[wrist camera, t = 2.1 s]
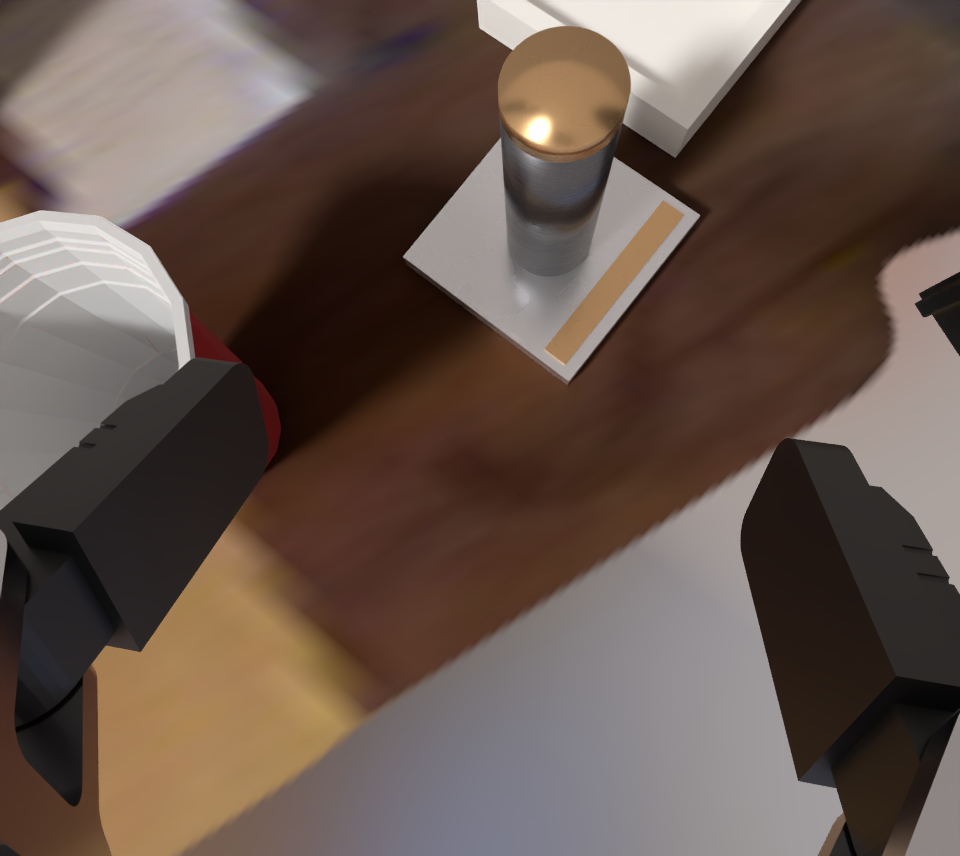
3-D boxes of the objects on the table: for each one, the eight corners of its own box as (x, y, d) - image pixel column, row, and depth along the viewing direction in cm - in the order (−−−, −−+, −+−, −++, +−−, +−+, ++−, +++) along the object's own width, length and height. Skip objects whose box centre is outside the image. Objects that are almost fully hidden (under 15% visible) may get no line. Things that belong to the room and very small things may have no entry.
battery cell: (490, 244, 28) (471, 100, 18) (541, 181, 28) (552, 2, 18) (557, 293, 27) (576, 171, 17) (609, 228, 27) (657, 71, 17)
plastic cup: (226, 279, 29) (25, 128, 18) (375, 420, 28) (266, 360, 16) (75, 435, 29) (-236, 389, 17) (219, 587, 27) (-14, 653, 16)
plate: (406, 265, 29) (402, 255, 28) (530, 114, 29) (531, 98, 28) (567, 385, 27) (569, 380, 26) (694, 225, 28) (701, 213, 27)
